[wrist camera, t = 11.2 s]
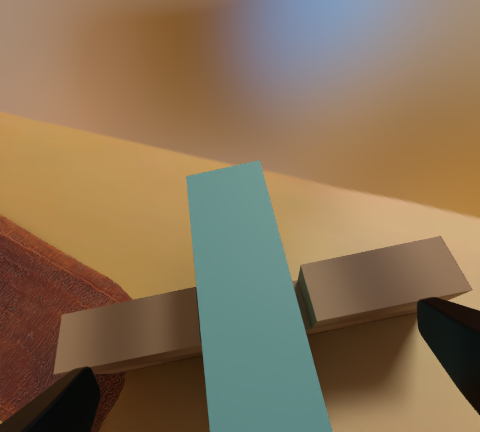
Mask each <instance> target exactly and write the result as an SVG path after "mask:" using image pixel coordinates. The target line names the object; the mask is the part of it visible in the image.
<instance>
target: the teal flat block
mask: <svg viewBox="0 0 480 432" xmlns="http://www.w3.org/2000/svg"><path fill="white" fill-rule="evenodd" d="M186 179H187V190H188V201H189V211H190V222H191V233H192V244H193V254H194V265H195V276H196V287H197V298H198V308H199V319H200V330H201V341H202V351H203V362H204V373H205V384H206V395H207V405H208V416H209V427H210V432H332V428H331V425H330V421H329V417H328V413H327V410H326V406H325V402H324V398H323V395H322V391H321V387H320V384H319V380H318V376H317V372H316V369H315V365H314V361H313V357H312V354H311V350H310V346H309V343H308V339H307V335H306V331H305V328H304V324H303V320H302V316H301V313H300V309H299V305H298V302H297V298H296V294H295V290H294V287H293V283H292V279H291V275H290V272H289V268H288V264H287V261H286V257H285V253H284V249H283V246H282V242H281V238H280V234H279V231H278V227H277V223H276V220H275V216H274V212H273V208H272V205H271V201H270V197H269V193H268V190H267V186H266V182H265V179H264V175H263V171H262V167H261V164H260V161H254V162H250V163H245V164H240V165H236V166H231V167H227V168H222V169H218V170H213V171H209V172H204V173H199V174H195V175H190V176H186Z"/></svg>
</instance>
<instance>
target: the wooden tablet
mask: <svg viewBox="0 0 480 432" xmlns="http://www.w3.org/2000/svg"><path fill="white" fill-rule="evenodd" d="M130 300H133V299H132V298H131V297H130V296H129V295H128V294H127V293H126V292H125V291H124V290H123V289H122V288H121V287H120V286H119V285H118V284H117V283H116V282H114V281H113V280H111V279H109V278H108V277H106V276H105V275H103V274H101V273H99V272H97V271H95V270H93V269H92V268H90V267H88V266H86V265H84V264H82V263H81V262H79V261H77V260H76V259H74V258H72V257H71V256H69V255H67V254H65V253H63V252H62V251H60V250H58V249H56V248H55V247H53V246H51V245H49V244H48V243H46V242H44V241H43V240H41V239H39V238H38V237H36V236H35V235H33V234H31V233H30V232H28V231H27V230H25V229H23V228H22V227H20V226H18V225H16V224H15V223H13V222H12V221H10V220H8V219H7V218H5V217H4V216H2V215H0V419H1V420H2V421H3V422H4V421H5V420H7V419H8V418H9V417H11V416H12V415H13V414H15V413H16V412H17V411H19V410H20V409H21V408H22V407H24V406H25V405H26V404H28V403H29V402H30V401H32V400H33V399H34V398H36V397H37V396H38V395H40V394H41V393H42V392H43V391H45V390H46V389H47V388H49V387H50V386H51V385H53V384H54V383H55V382H57V381H58V380H59V379H61V378H62V377H63V376H64V375H66V374H54V367H55V360H56V353H57V346H58V339H59V332H60V325H61V318H62V315H63V314H68V313H73V312H77V311H82V310H87V309H92V308H97V307H101V306H106V305H111V304H116V303H121V302H126V301H130ZM94 375H95V378H96V380H97V382H98V385H99V387H100V391H101V398H100V402H99V405H98V409H97V412H96V416H95V419H94V423H93V426H92V430H91V432H97V431H98V429H99V427H100V424H101V423H102V421H103V419H104V418H105V416H106V415H107V414H108V413H109V411H110V410H111V408H112V407H113V406H114V404H115V402H116V401H117V399H118V397H119V394H120V392H121V390H122V388H123V385H124V381H125V380H124V375H125V371H124V372H118V373H113V374H94Z"/></svg>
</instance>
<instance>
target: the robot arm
mask: <svg viewBox="0 0 480 432" xmlns="http://www.w3.org/2000/svg"><path fill="white" fill-rule="evenodd" d="M417 322H418V329H419V332H420V334H421V336H422V337H423V339H424V340H425V341H426V343H427V344H428V346H429V347H430V349H431V350H432V352H433V353H434V354H435V356H436V357H437V359H438V360H439V362H440V363H441V365H442V366H443V368H444V369H445V370H446V372H447V373H448V375H449V376H450V378H451V379H452V381H453V382H454V383H455V385H456V386H457V388H458V389H459V390H460V392H461V393H462V394H463V395H464V397H465V398H466V399H467V400H468V402H469V403H470V404H471V405H472V407H473V408H474V409H475V410H476V411H477V413H478V414H479V415H480V311H479V310H475V309H472V308H469V307H466V306H463V305H459V304H456V303H453V302H450V301H447V300H443V299H440V298H437V297H428V298H423V299H419V300H418V301H417ZM100 398H101V391H100V387H99V385H98V382H97V380H96V378H95V375H94V373H93V371H92V369H91V368H90V367H88V366H85V367H80V368H75V369H73V370H71V371H70V372H68V373H67V374H66V375H64V376H63V377H62V378H61V379H59V380H58V381H57V382H55V383H54V384H53V385H51V386H50V387H49V388H47V389H46V390H45V391H43V392H42V393H41V394H40V395H38V396H37V397H36V398H34V399H33V400H32V401H30V402H29V403H28V404H26V405H25V406H24V407H22V408H21V409H20V410H19V411H17V412H16V413H15V414H13V415H12V416H11V417H9V418H8V419H7V420H5V421H4V422H3V423H1V424H0V432H91V430H92V426H93V423H94V419H95V416H96V412H97V409H98V405H99V402H100Z"/></svg>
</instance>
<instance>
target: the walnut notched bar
mask: <svg viewBox="0 0 480 432" xmlns="http://www.w3.org/2000/svg"><path fill="white" fill-rule="evenodd" d="M292 283H293V287H294V290H295V294H296V298H297V302H298V305H299V309H300V313H301V316H302V320H303V324H304V328H305V331H306V335H308V334H313V333H318V332H323V331H328V330H333V329H338V328H343V327H348V326H353V325H358V324H363V323H368V322H373V321H378V320H383V319H388V318H393V317H398V316H403V315H408V314H413V313H417V301H418V300H419V299H423V298H428V297H437V298H440V299H443V300H450V299H452V298H455V297H457V296H459V295H462V294H464V293H466V292H469V291H471V290H472V288H471V286H470V285H469V283H468V281H467V279H466V278H465V276H464V274H463V273H462V271H461V269H460V268H459V266H458V264H457V263H456V261H455V259H454V257H453V256H452V254H451V252H450V251H449V249H448V247H447V246H446V244H445V242H444V240H443V239H442V237H441V236H438V237H434V238H429V239H424V240H419V241H414V242H410V243H405V244H400V245H395V246H390V247H385V248H381V249H376V250H371V251H366V252H361V253H357V254H352V255H347V256H342V257H337V258H333V259H328V260H323V261H318V262H313V263H308V264H304V265H301V266H300V272H299V277H298V280H297V281H292ZM199 356H203V351H202V341H201V330H200V319H199V308H198V298H197V288H196V287H193V288H188V289H183V290H179V291H174V292H169V293H164V294H159V295H154V296H150V297H145V298H140V299H135V300H130V301H126V302H121V303H116V304H111V305H106V306H101V307H97V308H92V309H87V310H82V311H77V312H73V313H68V314H63V315H62V318H61V325H60V332H59V339H58V346H57V353H56V360H55V367H54V374H67V373H68V372H70V371H71V370H73V369H75V368H80V367H85V366H88V367H90V368H91V369H92V371H93V373H94V374H113V373H118V372H124V371H129V370H134V369H139V368H144V367H149V366H154V365H159V364H164V363H169V362H174V361H179V360H184V359H189V358H194V357H199Z"/></svg>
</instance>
